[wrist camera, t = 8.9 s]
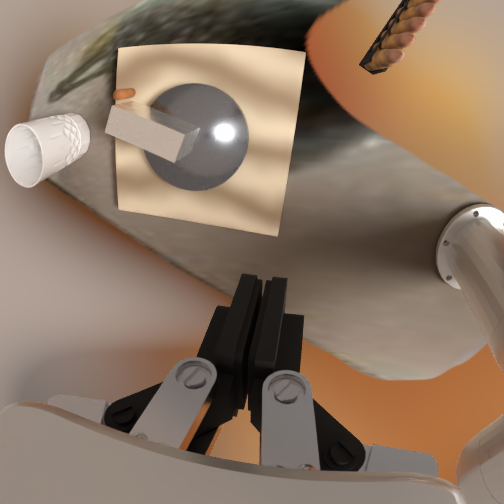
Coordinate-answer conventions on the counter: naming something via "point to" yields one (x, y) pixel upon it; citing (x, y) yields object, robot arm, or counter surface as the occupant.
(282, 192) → the dial panel
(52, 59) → the counter surface
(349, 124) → the counter surface
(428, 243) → the counter surface
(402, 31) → the ammunition clip
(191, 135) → the dial
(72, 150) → the white cup
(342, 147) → the counter surface
